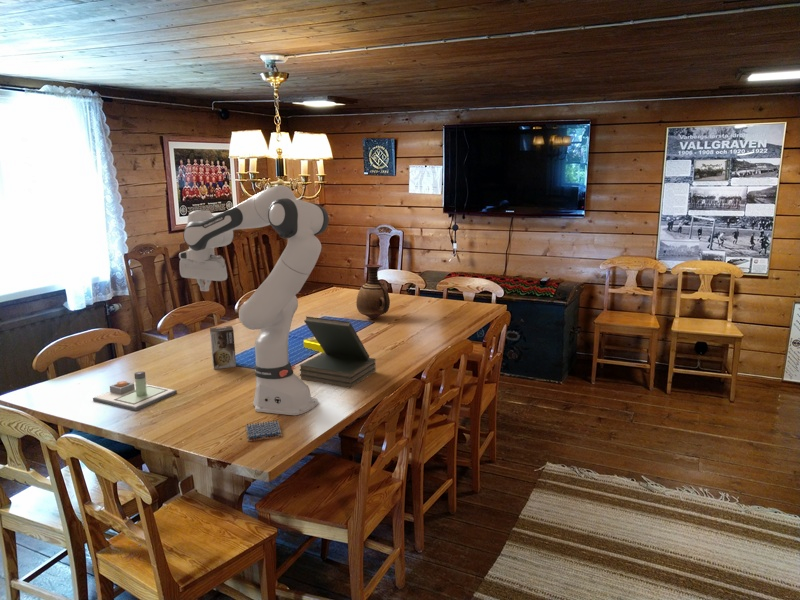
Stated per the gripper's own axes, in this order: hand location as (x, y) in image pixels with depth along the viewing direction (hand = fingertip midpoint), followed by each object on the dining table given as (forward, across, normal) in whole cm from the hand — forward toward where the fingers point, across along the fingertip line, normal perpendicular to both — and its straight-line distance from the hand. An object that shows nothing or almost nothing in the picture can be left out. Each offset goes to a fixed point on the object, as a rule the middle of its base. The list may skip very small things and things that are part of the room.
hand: (204, 290), depth 215 cm
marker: (+34, +9, +25) cm, 43 cm away
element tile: (+36, -17, -55) cm, 68 cm away
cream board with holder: (+35, +12, +25) cm, 45 cm away
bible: (+36, -42, -25) cm, 61 cm away
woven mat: (+36, -48, +29) cm, 67 cm away
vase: (+35, -12, -112) cm, 118 cm away
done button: (+33, +18, +25) cm, 45 cm away
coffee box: (+35, +7, -15) cm, 39 cm away
